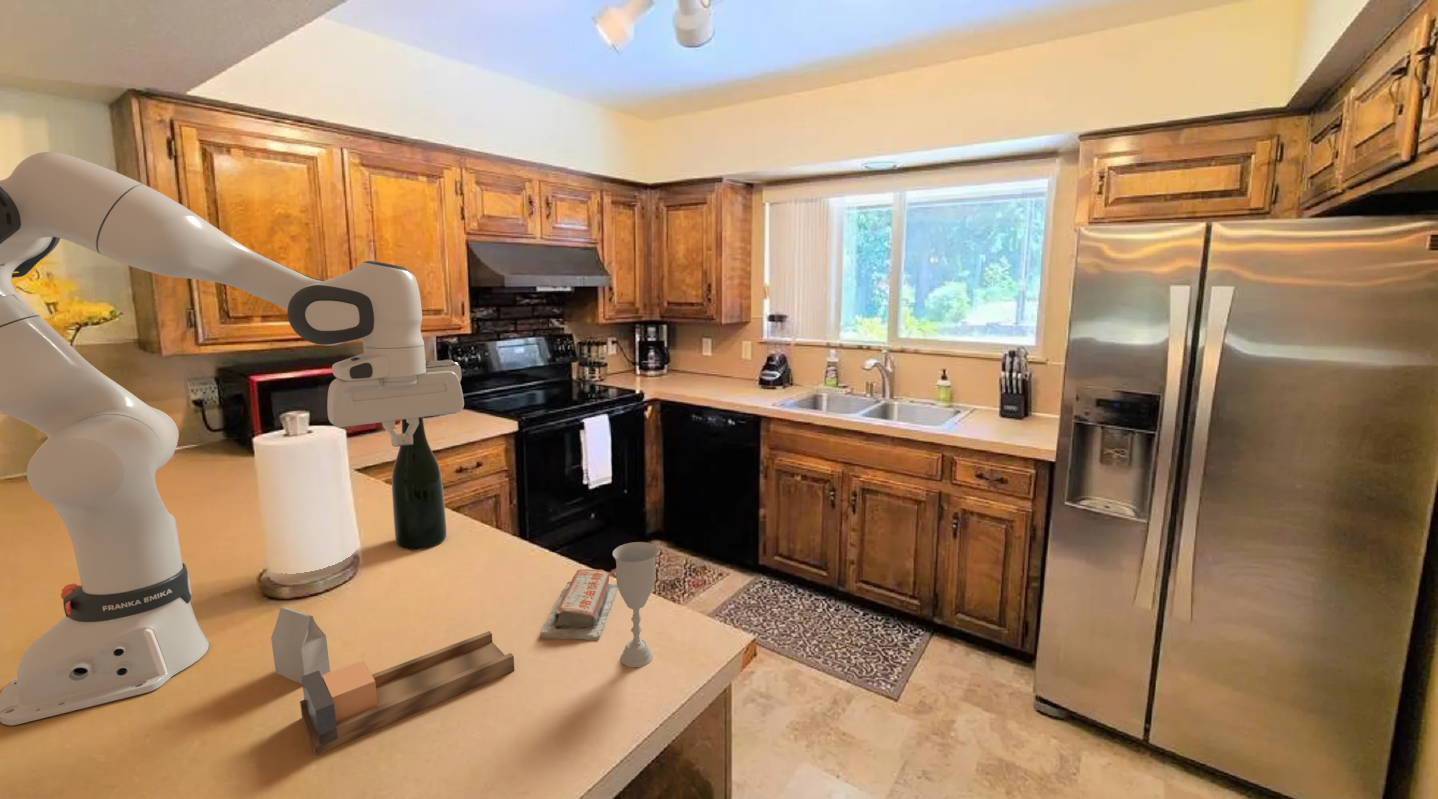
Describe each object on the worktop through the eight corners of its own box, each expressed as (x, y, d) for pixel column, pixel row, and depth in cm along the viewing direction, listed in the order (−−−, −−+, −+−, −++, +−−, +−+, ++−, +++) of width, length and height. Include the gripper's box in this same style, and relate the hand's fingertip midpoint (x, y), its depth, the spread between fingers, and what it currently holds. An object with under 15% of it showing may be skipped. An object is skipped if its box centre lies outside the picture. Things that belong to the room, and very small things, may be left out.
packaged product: (567, 565, 120) (618, 566, 120) (567, 588, 121) (618, 590, 121) (539, 614, 103) (599, 616, 103) (540, 641, 104) (599, 642, 103)
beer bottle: (422, 554, 134) (410, 404, 128) (384, 547, 137) (371, 400, 131) (457, 536, 144) (447, 396, 138) (421, 529, 147) (410, 392, 141)
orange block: (335, 731, 80) (332, 697, 79) (325, 708, 85) (321, 675, 84) (378, 714, 84) (375, 681, 83) (366, 692, 88) (363, 660, 87)
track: (315, 755, 78) (313, 737, 77) (301, 717, 84) (299, 701, 84) (514, 670, 95) (513, 655, 95) (490, 644, 101) (489, 630, 101)
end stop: (319, 746, 78) (315, 710, 77) (305, 709, 84) (301, 676, 83) (337, 738, 79) (334, 703, 78) (322, 703, 86) (318, 670, 85)
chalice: (638, 676, 94) (637, 566, 91) (604, 661, 98) (602, 554, 94) (667, 653, 100) (667, 548, 97) (634, 639, 104) (633, 538, 100)
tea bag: (305, 685, 91) (298, 623, 89) (275, 673, 93) (267, 612, 92) (330, 671, 94) (323, 610, 92) (300, 660, 97) (293, 601, 95)
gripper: (453, 356, 111) (458, 432, 113) (320, 366, 97) (329, 451, 100) (467, 360, 106) (472, 438, 109) (329, 370, 93) (338, 460, 95)
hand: (402, 445), depth 104 cm, fingers closed
